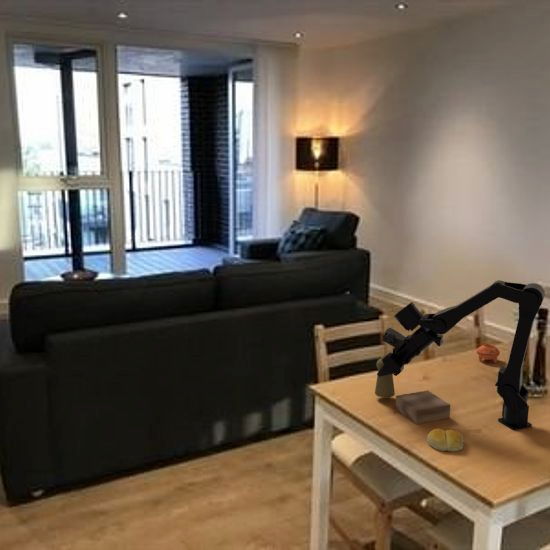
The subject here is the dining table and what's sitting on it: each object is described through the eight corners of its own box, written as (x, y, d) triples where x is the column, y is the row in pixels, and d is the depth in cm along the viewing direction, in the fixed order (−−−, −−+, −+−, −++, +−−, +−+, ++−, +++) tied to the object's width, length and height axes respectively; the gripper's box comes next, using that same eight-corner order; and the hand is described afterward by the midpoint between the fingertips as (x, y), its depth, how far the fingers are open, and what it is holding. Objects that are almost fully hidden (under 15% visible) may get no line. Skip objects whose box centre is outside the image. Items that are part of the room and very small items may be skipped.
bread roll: (427, 436, 159) (428, 422, 158) (462, 440, 156) (463, 425, 156) (426, 450, 151) (427, 436, 150) (463, 455, 149) (464, 440, 148)
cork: (375, 389, 185) (375, 355, 183) (394, 390, 184) (395, 356, 182) (374, 396, 180) (374, 362, 177) (394, 398, 178) (395, 363, 176)
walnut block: (449, 417, 169) (450, 404, 168) (416, 424, 165) (417, 410, 164) (427, 402, 179) (427, 390, 178) (395, 408, 175) (395, 395, 174)
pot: (485, 365, 209) (483, 346, 209) (473, 363, 217) (471, 344, 217) (505, 362, 211) (503, 343, 211) (492, 360, 218) (490, 342, 219)
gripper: (407, 313, 184) (372, 343, 191) (389, 329, 167) (352, 361, 175) (432, 341, 181) (396, 370, 189) (416, 360, 165) (377, 391, 173)
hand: (380, 372), depth 181 cm, fingers closed on cork, 5 cm apart
